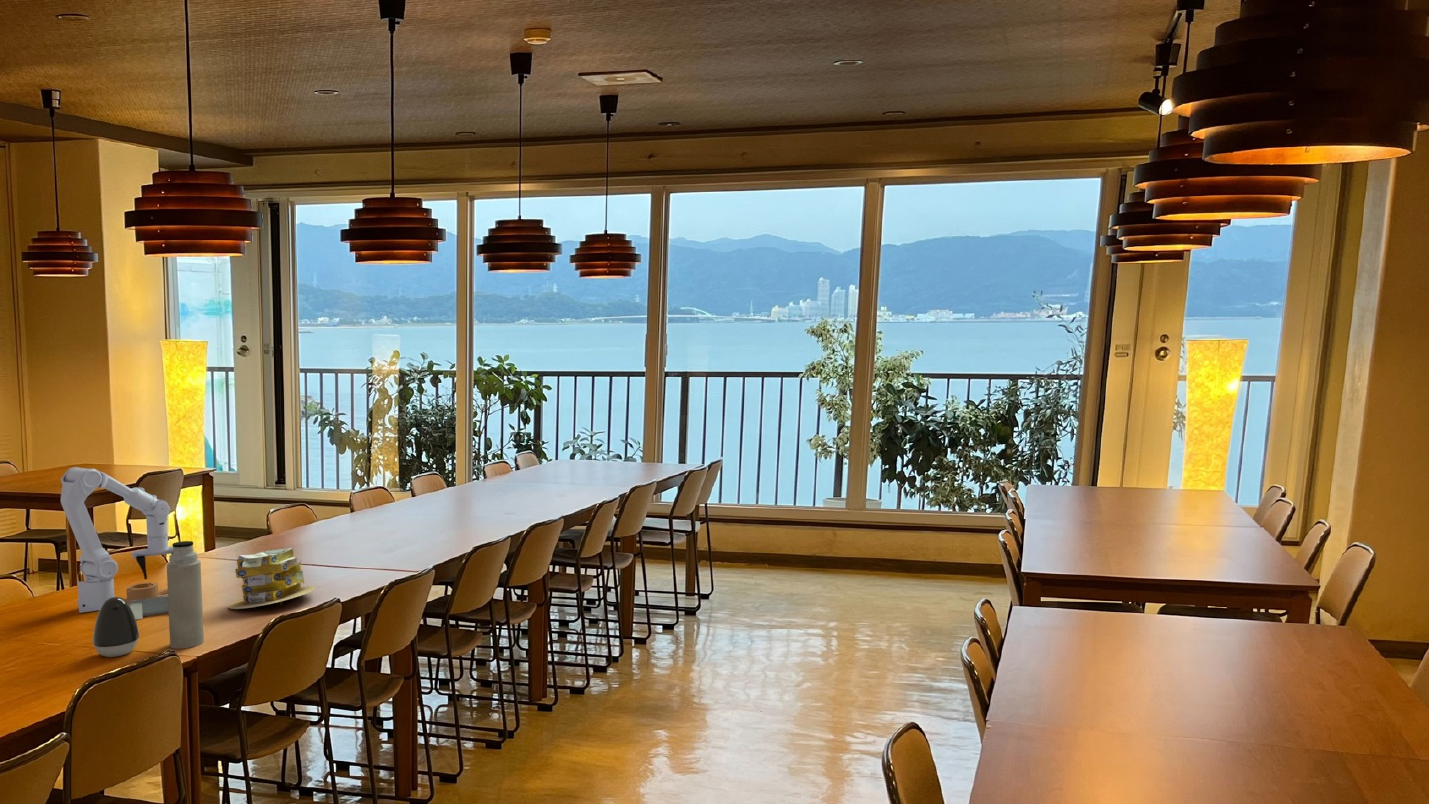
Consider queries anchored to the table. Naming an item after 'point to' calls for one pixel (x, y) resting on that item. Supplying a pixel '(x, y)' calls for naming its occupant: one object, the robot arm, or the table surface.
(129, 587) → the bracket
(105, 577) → the robot arm
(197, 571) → the thermos bottle
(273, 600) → the stacked boxes on plate
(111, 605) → the grey white egg device
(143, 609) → the bar
